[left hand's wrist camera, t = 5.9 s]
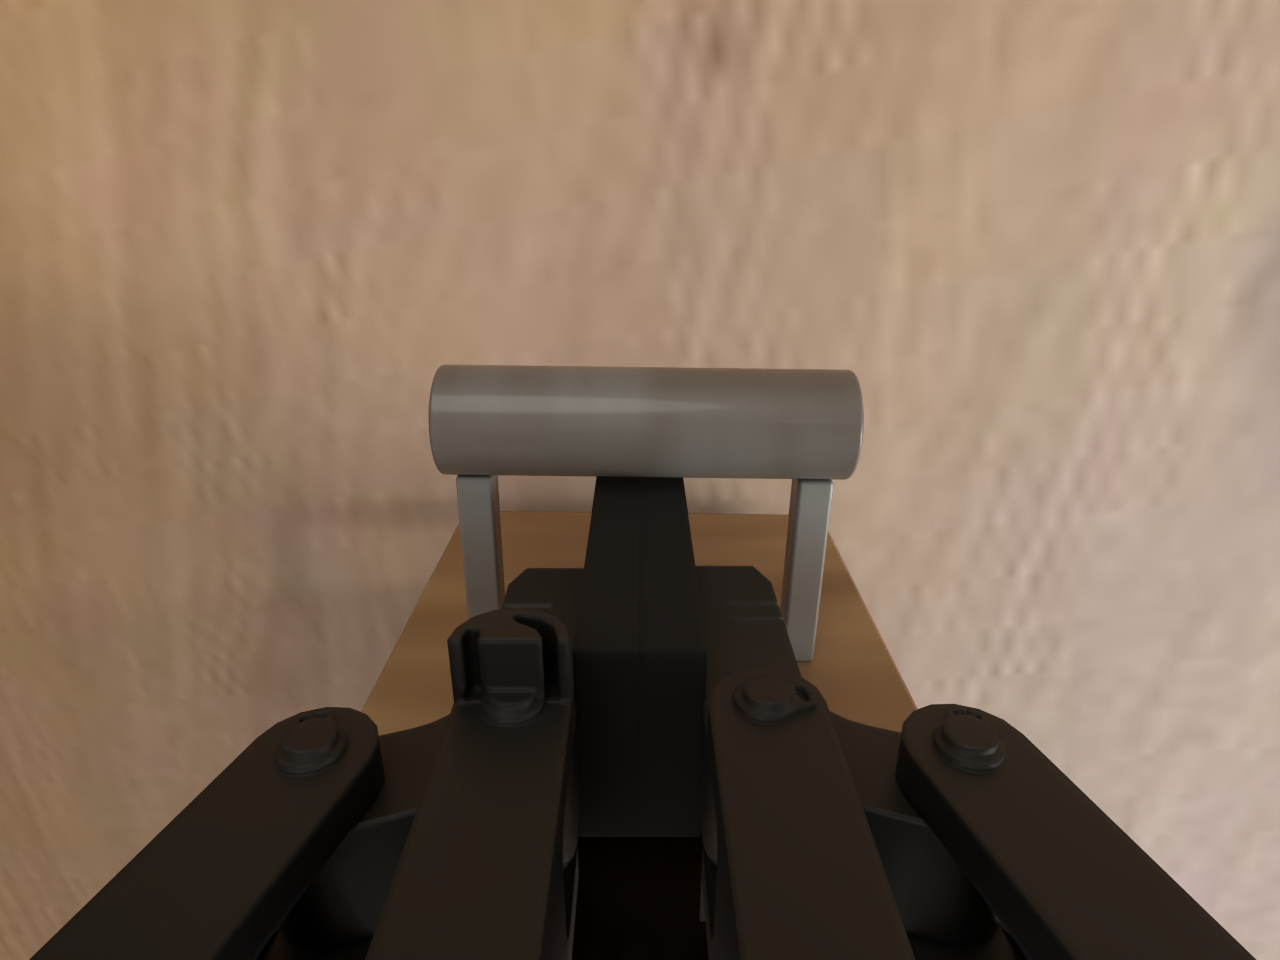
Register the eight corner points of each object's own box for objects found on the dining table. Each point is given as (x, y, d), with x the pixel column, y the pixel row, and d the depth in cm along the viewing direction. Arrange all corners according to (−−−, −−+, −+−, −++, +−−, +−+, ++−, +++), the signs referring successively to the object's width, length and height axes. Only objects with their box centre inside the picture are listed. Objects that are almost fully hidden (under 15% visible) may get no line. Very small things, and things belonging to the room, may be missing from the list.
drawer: (446, 301, 18) (271, 422, 10) (844, 306, 18) (1022, 431, 10) (500, 952, 27) (433, 1325, 18) (771, 955, 27) (832, 1330, 18)
